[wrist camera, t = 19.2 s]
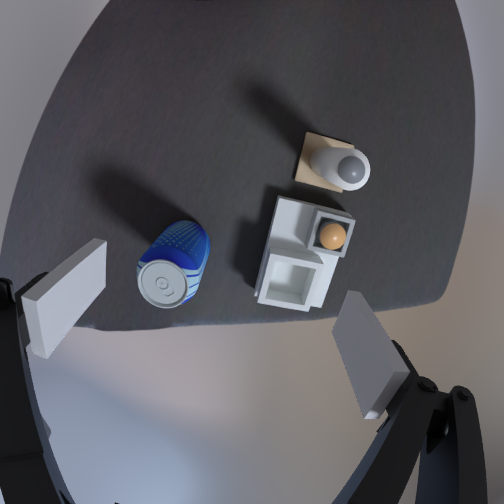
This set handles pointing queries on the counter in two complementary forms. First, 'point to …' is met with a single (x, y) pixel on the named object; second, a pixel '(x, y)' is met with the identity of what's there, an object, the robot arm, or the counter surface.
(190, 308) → the counter surface
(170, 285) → the beer can
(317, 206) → the housing
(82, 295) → the robot arm
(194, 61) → the counter surface
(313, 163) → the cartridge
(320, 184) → the coaster
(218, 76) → the counter surface
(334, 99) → the counter surface
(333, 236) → the tan dome
